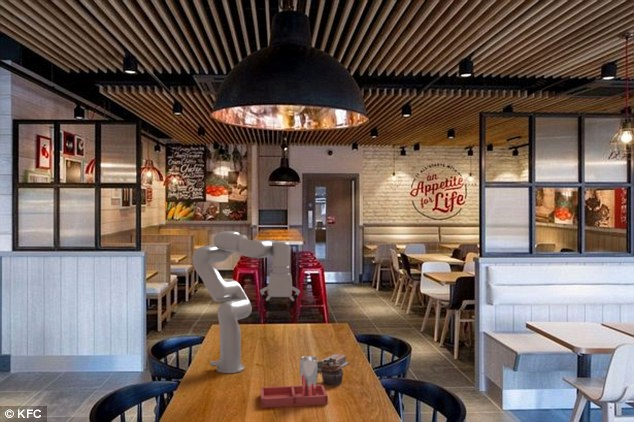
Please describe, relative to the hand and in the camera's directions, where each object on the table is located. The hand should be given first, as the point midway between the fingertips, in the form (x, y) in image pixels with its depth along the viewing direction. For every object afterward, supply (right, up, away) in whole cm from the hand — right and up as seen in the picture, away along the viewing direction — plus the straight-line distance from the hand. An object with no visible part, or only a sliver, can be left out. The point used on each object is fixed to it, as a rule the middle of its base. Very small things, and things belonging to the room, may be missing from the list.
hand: (279, 309), depth 227 cm
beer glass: (+13, -30, -23) cm, 40 cm away
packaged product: (+23, -31, +18) cm, 43 cm away
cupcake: (+23, -31, -4) cm, 38 cm away
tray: (+7, -31, -24) cm, 39 cm away
